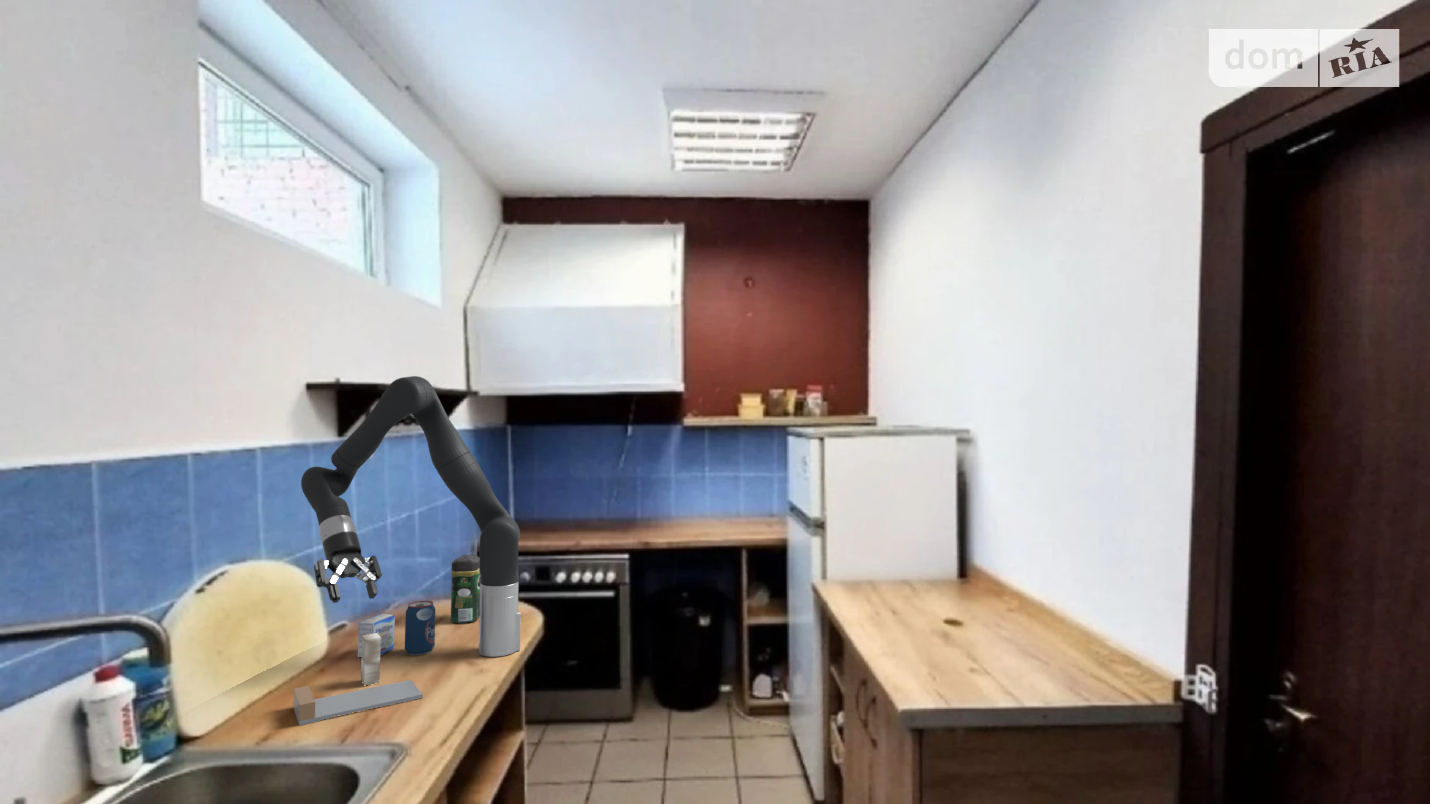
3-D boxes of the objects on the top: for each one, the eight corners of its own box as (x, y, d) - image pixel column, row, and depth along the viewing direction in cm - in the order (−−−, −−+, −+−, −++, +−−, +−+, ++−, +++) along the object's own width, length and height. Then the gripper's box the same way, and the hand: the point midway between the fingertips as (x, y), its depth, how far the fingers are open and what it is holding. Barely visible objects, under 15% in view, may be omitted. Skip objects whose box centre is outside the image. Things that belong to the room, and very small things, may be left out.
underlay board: (410, 683, 149) (411, 665, 149) (422, 698, 141) (423, 679, 141) (293, 707, 136) (294, 688, 136) (299, 725, 128) (300, 704, 128)
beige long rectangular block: (375, 678, 152) (376, 633, 153) (379, 683, 149) (380, 637, 149) (360, 681, 150) (362, 635, 151) (364, 686, 147) (365, 640, 148)
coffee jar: (454, 615, 203) (456, 553, 203) (482, 614, 204) (483, 552, 205) (447, 625, 193) (448, 559, 194) (476, 624, 194) (477, 558, 195)
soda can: (433, 654, 168) (434, 605, 168) (403, 657, 166) (404, 608, 166) (435, 646, 174) (436, 599, 175) (405, 648, 172) (407, 601, 173)
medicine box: (372, 659, 164) (373, 623, 165) (356, 658, 165) (357, 622, 165) (394, 649, 172) (395, 614, 172) (379, 647, 173) (380, 613, 173)
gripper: (316, 531, 157) (332, 594, 150) (376, 529, 169) (393, 587, 162) (301, 548, 160) (316, 611, 153) (360, 545, 171) (376, 603, 164)
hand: (355, 598), depth 157 cm, fingers open, 8 cm apart
